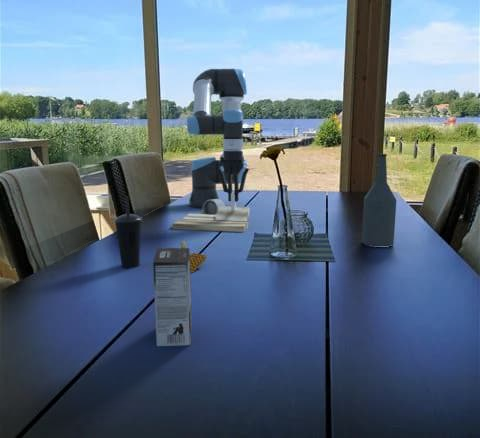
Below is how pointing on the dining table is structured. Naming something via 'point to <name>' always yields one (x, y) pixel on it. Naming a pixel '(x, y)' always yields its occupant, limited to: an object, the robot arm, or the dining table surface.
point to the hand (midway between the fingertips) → (233, 209)
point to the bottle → (379, 210)
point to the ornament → (194, 259)
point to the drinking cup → (129, 238)
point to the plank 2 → (232, 213)
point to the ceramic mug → (212, 206)
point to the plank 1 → (200, 216)
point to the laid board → (210, 225)
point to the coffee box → (172, 296)
